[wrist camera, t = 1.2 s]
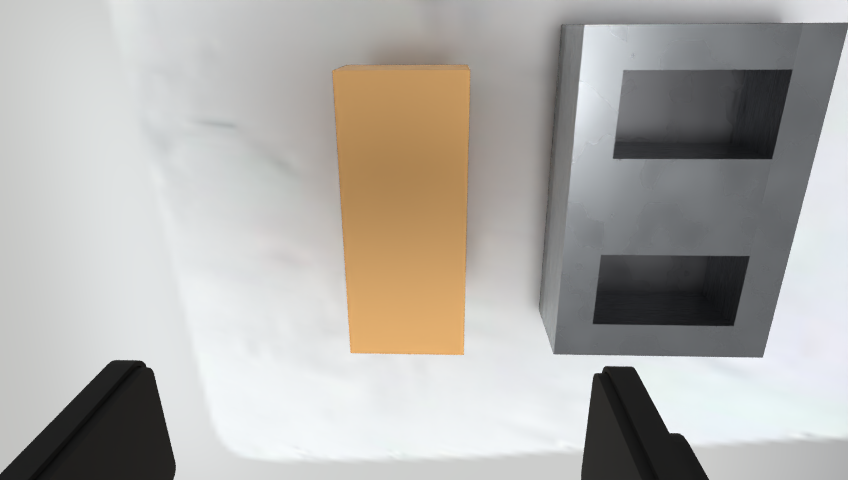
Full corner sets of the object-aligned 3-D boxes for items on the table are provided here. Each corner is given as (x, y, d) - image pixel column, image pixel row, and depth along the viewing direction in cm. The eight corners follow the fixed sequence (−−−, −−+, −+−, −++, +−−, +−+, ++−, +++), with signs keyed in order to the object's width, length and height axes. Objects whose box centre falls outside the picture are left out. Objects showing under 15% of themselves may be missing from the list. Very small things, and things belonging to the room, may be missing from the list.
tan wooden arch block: (360, 59, 26) (332, 70, 20) (464, 59, 26) (470, 70, 20) (370, 283, 31) (350, 353, 24) (459, 284, 31) (463, 354, 24)
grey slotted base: (561, 24, 25) (584, 24, 21) (781, 23, 25) (849, 22, 21) (539, 309, 31) (553, 354, 27) (719, 311, 30) (762, 357, 26)
